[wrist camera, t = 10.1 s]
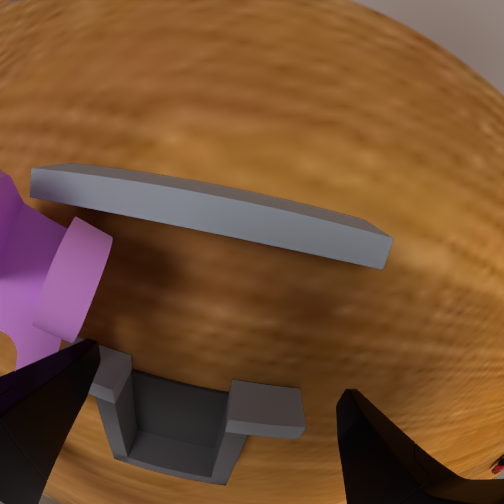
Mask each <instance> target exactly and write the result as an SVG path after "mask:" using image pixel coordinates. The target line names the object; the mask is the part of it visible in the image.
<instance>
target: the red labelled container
mask: <svg viewBox="0 0 504 504" xmlns="http://www.w3.org/2000/svg"><path fill="white" fill-rule="evenodd" d="M502 470H504V458H502V459H500V461H499V462H498V464H497V465H496V466H495V467H494V468H493V469H492V473H493V474H497V473H499V472H501V471H502Z"/></svg>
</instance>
